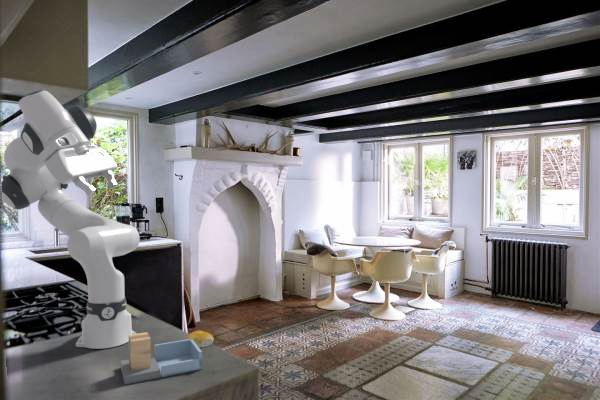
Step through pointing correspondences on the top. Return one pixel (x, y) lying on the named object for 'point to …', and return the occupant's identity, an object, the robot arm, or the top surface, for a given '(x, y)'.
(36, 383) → the top surface
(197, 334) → the bread roll
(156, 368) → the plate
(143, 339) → the oak block
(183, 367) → the tray
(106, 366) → the top surface
